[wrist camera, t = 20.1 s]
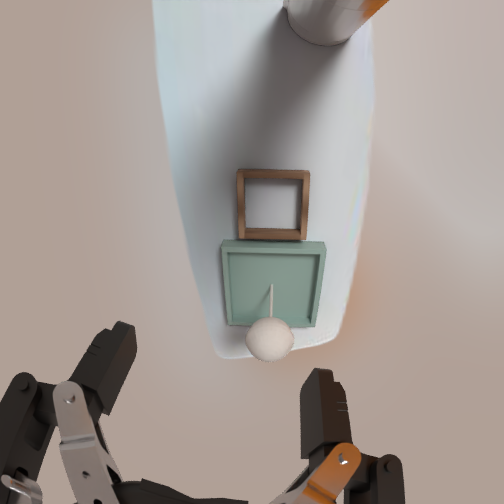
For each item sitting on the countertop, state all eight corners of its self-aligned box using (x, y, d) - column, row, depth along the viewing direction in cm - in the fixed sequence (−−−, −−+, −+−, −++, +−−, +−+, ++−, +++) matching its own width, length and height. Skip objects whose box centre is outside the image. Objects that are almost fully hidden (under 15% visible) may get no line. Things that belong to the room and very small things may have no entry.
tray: (224, 239, 42) (221, 247, 39) (323, 241, 40) (326, 249, 38) (229, 315, 49) (227, 324, 46) (313, 317, 47) (314, 327, 45)
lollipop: (289, 268, 42) (294, 338, 29) (291, 298, 45) (295, 369, 32) (250, 271, 43) (239, 341, 30) (254, 300, 46) (246, 371, 32)
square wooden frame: (238, 169, 36) (236, 172, 35) (308, 170, 36) (310, 173, 34) (240, 232, 41) (238, 238, 39) (304, 234, 40) (306, 239, 38)
